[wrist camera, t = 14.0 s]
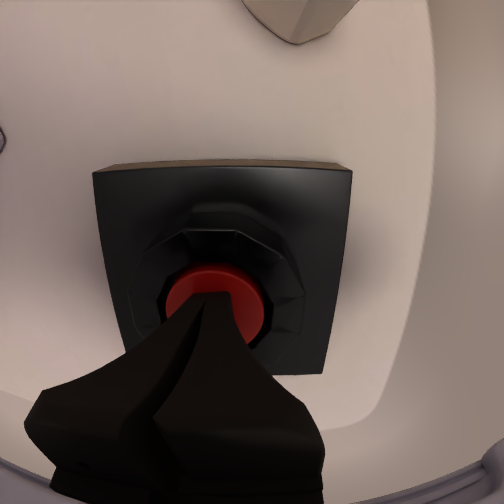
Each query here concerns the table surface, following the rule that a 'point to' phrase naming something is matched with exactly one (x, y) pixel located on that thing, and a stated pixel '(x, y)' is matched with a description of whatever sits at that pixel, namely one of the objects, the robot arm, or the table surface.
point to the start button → (222, 279)
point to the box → (229, 244)
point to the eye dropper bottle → (299, 16)
